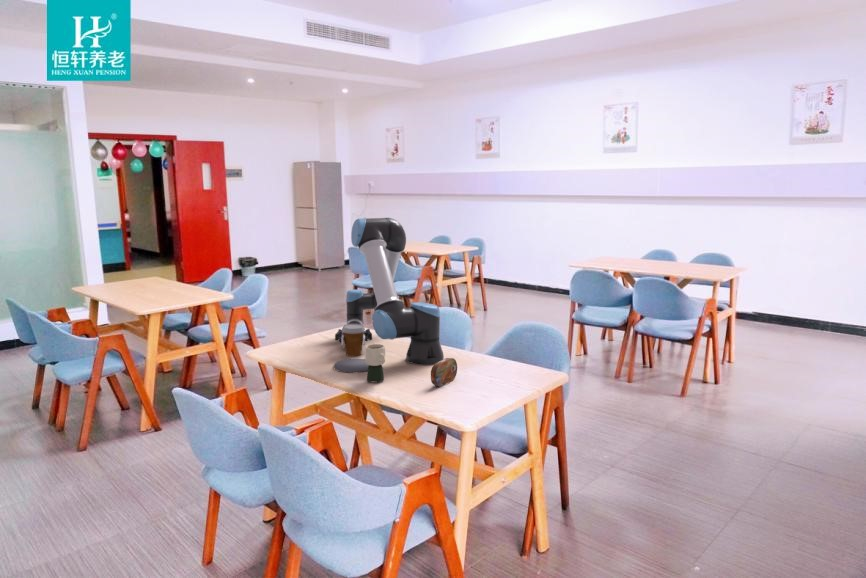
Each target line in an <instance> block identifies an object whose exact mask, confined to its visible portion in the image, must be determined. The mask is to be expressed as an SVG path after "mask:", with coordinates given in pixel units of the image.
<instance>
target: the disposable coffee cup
mask: <svg viewBox="0 0 866 578" xmlns="http://www.w3.org/2000/svg"><path fill="white" fill-rule="evenodd" d="M341 330H342V331H343V336H344V349H345V355H346V356H349V357H357V356H360V355H362V349H363V334H364V331H366V327H365V325H364V324H363V325H361V324H347V323H346V324H344V325H342V328H341Z"/></svg>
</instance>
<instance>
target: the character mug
mask: <svg viewBox="0 0 866 578" xmlns="http://www.w3.org/2000/svg"><path fill="white" fill-rule="evenodd" d="M364 353H365V358H364V359H366V364H367V365H369V366H368V371H366V381H367V382H370V383H376V382H377V383H379V382H383V381H384V380H385V373H384V368H383V366H382V365H384V364H385V362H386V357H385V356H386V346H385V345H384V344H383V343H371V344H370V343H369V344H367V345H365V352H364Z"/></svg>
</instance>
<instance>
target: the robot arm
mask: <svg viewBox="0 0 866 578" xmlns="http://www.w3.org/2000/svg"><path fill="white" fill-rule="evenodd" d="M350 239H351V244H352V245H353V247H355V248H358V251H359V253H360V254H362V255H364V258H365V263H366V266H367V271H368V275H369V277H370V282H371V285H372V290H373V292H368V293H364V291H363V290H362V289H350V290H347V291H346V299H345V301H346V324H361V325H363V326H364V311H365V310H366V311H367V310H368V311H369V310H374V312H373V313H372V317H371V318H372V327H373V329H374V332H375V334H376V335H377V336H378V337H379V338H380V339H382V340H395V339H402V338H410V342H409V345H408V347H407V351H406V358H405V359H406V361H407V362H408V363H410V364H415V365H421V366H422V365H423V366H424V365H425V366H428V365H429V366H430V365H434V364H435V363H437V362H439V361H441V360H443V359H445V358H444V357H445V356H444V352H443V349H442V348H443V347H442V345H441V341H440V330H441V329H440V324H441V321H440V320H441V314H440V313H441V312H440V307H439V306H438V305H436V304H432V303H427V302H420V301H419V302H418V301H417V302H411V303H410V306H409V307H406V306H405V303H404V301H403V300H402V299H399V297H398V293H397V290H396V286H395V277H396V272H397V270H398V267H399V266H398V265H399V262H400V259H401V255H402V252H404V250H405V248H406V245H407V236H406V232H405V229H404V226H403V225H402V224H401V223H400V222H399V221H398V220H396V219H394V218H391V217H375V218H373V217H372V218H371V217H370V218H366V217H363V218H357V219H355V220H354V221H353V224H352V227H351V237H350ZM370 330H371V329H370V328H367V329H365V330H364V334H363V342H362V346H366V342H368V341H369V340H370V341H372V340H373V333H372V332H371V331H370ZM334 341H338V342H339V343H341V346H344V345H345V343H344V336H343V331H342V328H341V329H338V330H337V332H336V333H335V334H334Z"/></svg>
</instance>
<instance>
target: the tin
mask: <svg viewBox="0 0 866 578" xmlns="http://www.w3.org/2000/svg"><path fill="white" fill-rule="evenodd" d="M457 374H458V363H457V361H456V359H455V358H453V357H446V358H444V359H443V360H441V361H439V362H437V363H435V364H432V367H431V369H430V380H431V383H432V385H433V386H436V387H440V388H441V387H444V386H445V385H447V384H448V383H449V384H450V383H451V382H453V380H455V378H456V377H457Z"/></svg>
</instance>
